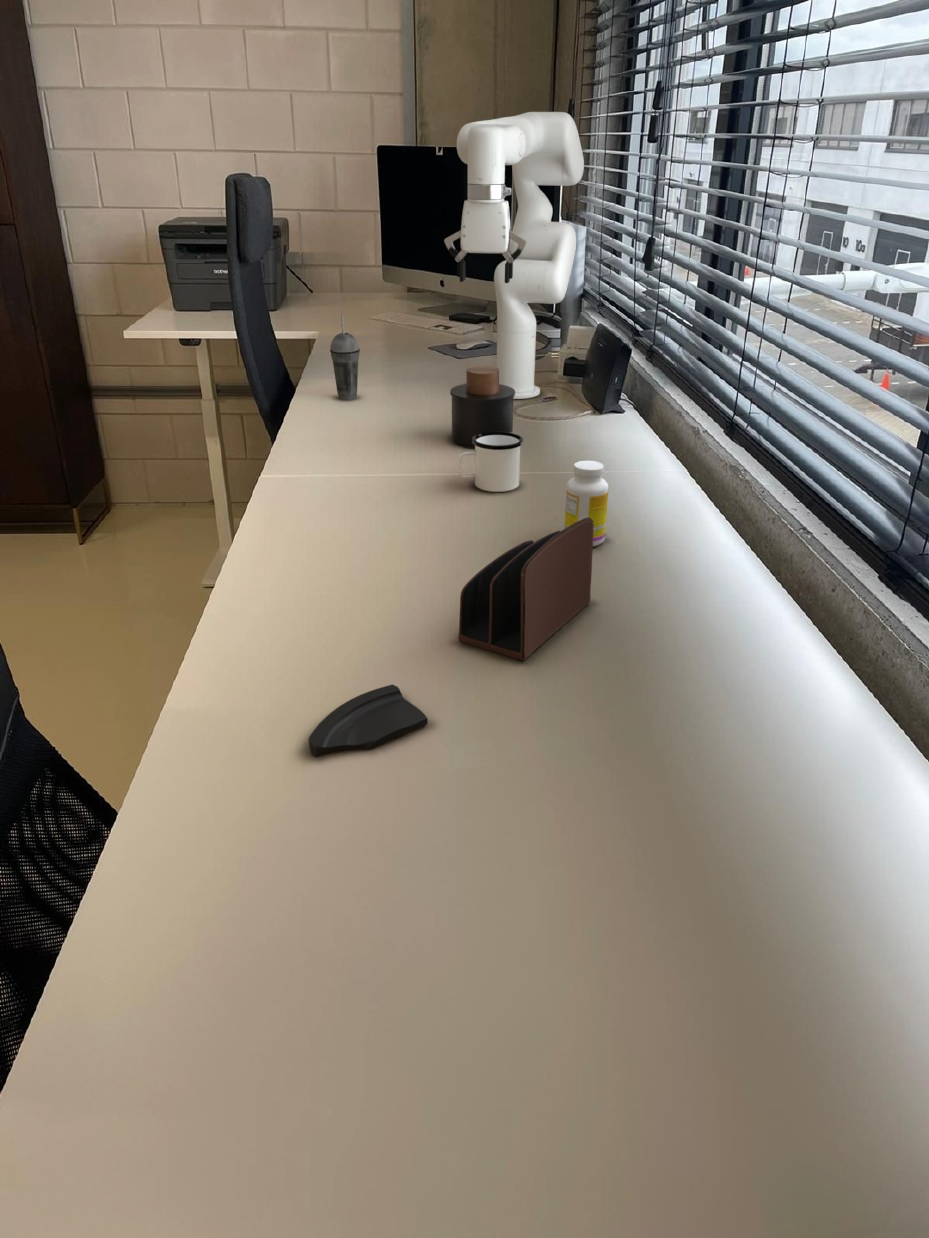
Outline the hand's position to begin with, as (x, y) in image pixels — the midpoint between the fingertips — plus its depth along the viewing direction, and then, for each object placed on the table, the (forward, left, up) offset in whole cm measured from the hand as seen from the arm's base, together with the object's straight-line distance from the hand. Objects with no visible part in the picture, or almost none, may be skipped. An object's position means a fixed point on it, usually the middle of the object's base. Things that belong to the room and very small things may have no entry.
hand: (484, 281), depth 201 cm
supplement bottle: (+65, +27, -31) cm, 77 cm away
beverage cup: (-14, -36, -31) cm, 49 cm away
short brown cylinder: (+14, +2, -20) cm, 24 cm away
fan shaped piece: (+123, +6, -31) cm, 127 cm away
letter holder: (+95, +21, -31) cm, 102 cm away
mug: (+42, +8, -31) cm, 53 cm away
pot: (+14, +2, -30) cm, 33 cm away
